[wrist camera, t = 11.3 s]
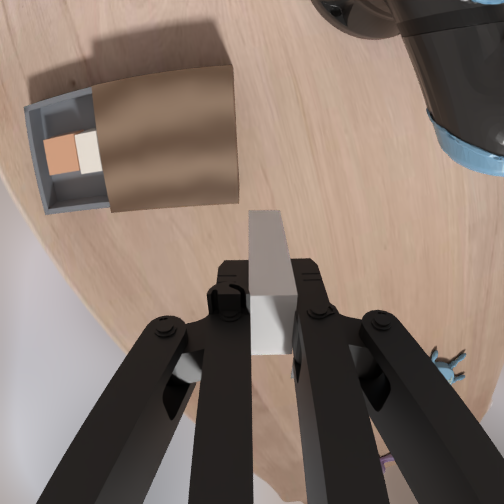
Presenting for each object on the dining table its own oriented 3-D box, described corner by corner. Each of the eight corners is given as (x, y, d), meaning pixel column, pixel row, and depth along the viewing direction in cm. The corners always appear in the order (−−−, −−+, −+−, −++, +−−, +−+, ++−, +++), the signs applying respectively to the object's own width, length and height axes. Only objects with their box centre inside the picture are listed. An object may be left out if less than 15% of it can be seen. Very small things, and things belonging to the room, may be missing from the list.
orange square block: (73, 133, 34) (83, 129, 37) (43, 140, 34) (54, 135, 37) (79, 170, 37) (88, 164, 39) (49, 175, 37) (60, 169, 39)
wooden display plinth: (110, 83, 35) (91, 85, 30) (233, 67, 35) (231, 64, 30) (126, 195, 43) (111, 212, 38) (239, 187, 43) (239, 203, 38)
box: (39, 103, 35) (23, 107, 31) (109, 84, 35) (96, 85, 31) (57, 204, 43) (45, 214, 39) (124, 196, 43) (115, 206, 39)
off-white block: (111, 124, 37) (91, 128, 37) (95, 130, 32) (74, 135, 32) (116, 160, 39) (97, 163, 39) (102, 170, 35) (81, 174, 35)
